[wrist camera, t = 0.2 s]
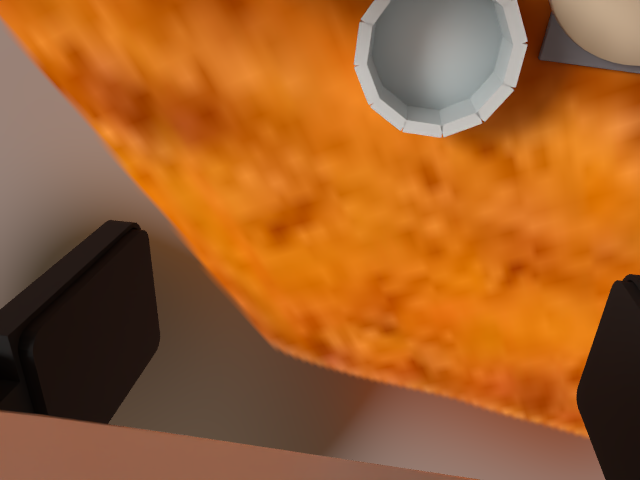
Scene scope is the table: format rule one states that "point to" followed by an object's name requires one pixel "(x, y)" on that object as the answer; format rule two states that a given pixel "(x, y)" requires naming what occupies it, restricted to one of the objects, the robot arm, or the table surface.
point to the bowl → (439, 61)
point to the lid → (602, 27)
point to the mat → (573, 51)
